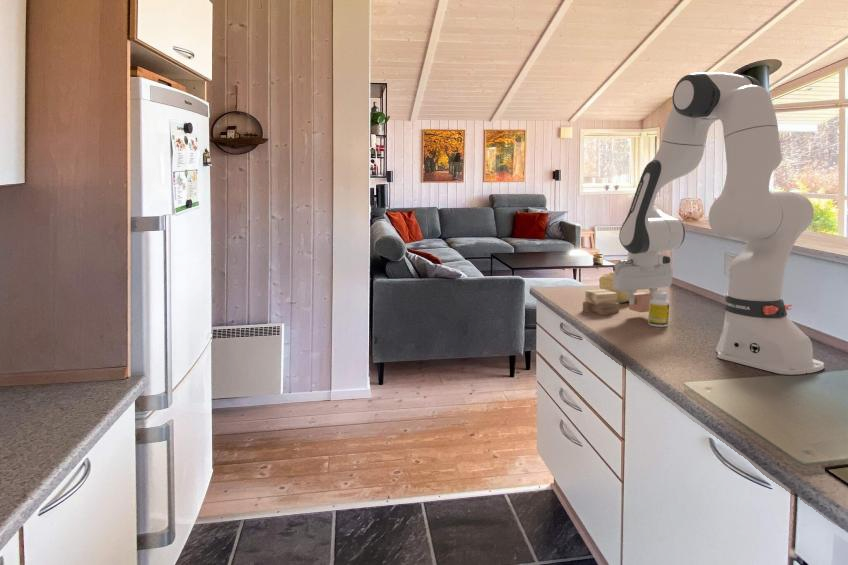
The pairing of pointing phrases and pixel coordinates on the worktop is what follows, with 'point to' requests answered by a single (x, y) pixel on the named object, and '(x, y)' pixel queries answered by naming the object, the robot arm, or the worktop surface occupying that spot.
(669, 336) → the worktop surface
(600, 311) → the bottom block
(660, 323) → the supplement bottle
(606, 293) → the top block
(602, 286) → the pale yellow rounded lump
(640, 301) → the cube
